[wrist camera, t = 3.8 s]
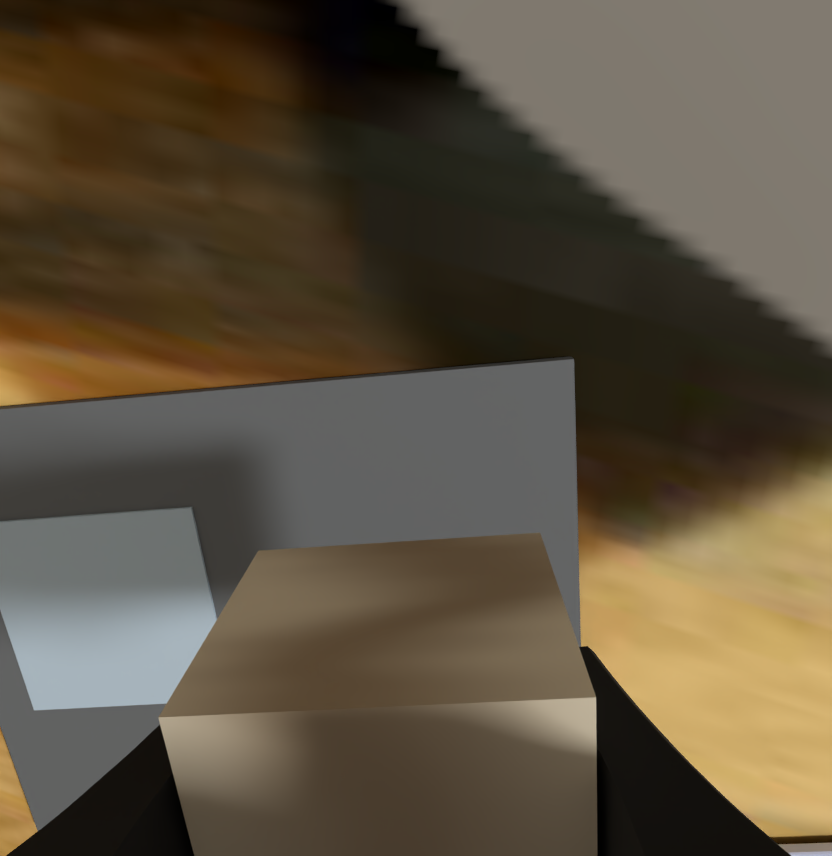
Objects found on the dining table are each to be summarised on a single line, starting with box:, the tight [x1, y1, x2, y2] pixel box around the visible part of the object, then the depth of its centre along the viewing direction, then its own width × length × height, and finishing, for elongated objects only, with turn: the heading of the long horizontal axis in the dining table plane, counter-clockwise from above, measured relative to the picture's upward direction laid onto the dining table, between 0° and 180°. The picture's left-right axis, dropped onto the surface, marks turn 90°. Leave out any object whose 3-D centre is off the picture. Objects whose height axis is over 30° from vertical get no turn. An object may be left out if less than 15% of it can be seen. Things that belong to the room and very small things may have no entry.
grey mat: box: [0, 357, 581, 831], centre depth 20 cm, size 20×16×1 cm
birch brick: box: [158, 533, 597, 856], centre depth 9 cm, size 5×5×4 cm
